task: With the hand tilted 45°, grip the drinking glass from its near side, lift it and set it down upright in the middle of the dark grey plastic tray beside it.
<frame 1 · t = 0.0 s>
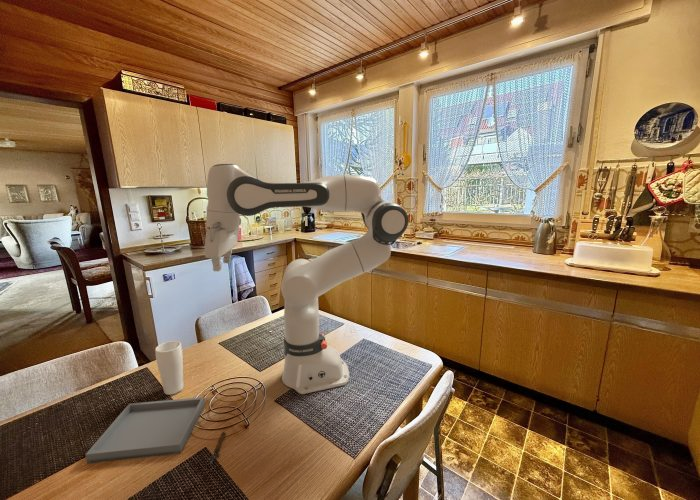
hand: (222, 266, 86), 39 cm above the table, tool pointing down, fingers open, 8 cm apart
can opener: (216, 451, 69), on the table
tray: (153, 430, 74), on the table
drinking glass: (174, 390, 89), on the table
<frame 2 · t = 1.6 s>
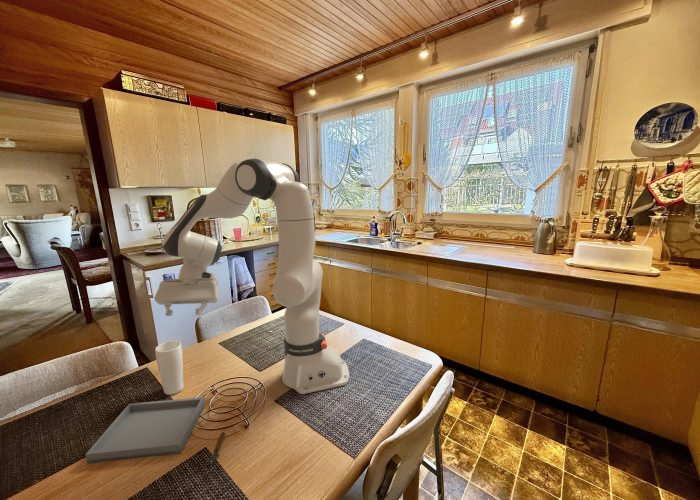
hand: (183, 314, 97), 20 cm above the table, tool tilted 45°, fingers open, 8 cm apart
nothing on the table moved.
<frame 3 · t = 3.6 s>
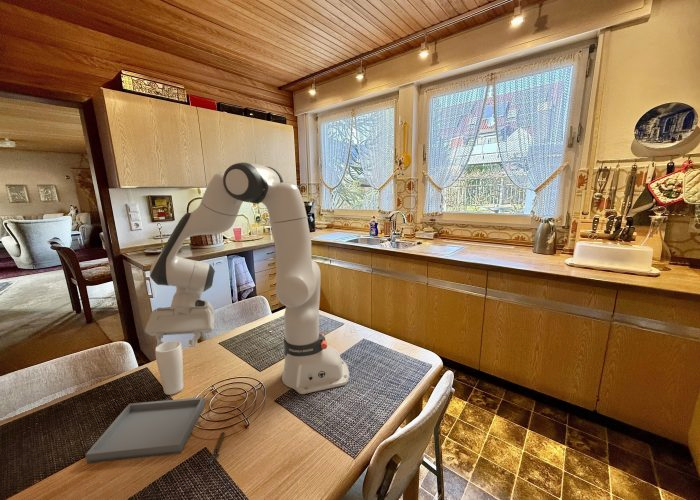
hand: (175, 347, 91), 12 cm above the table, tool tilted 45°, fingers open, 8 cm apart
nothing on the table moved.
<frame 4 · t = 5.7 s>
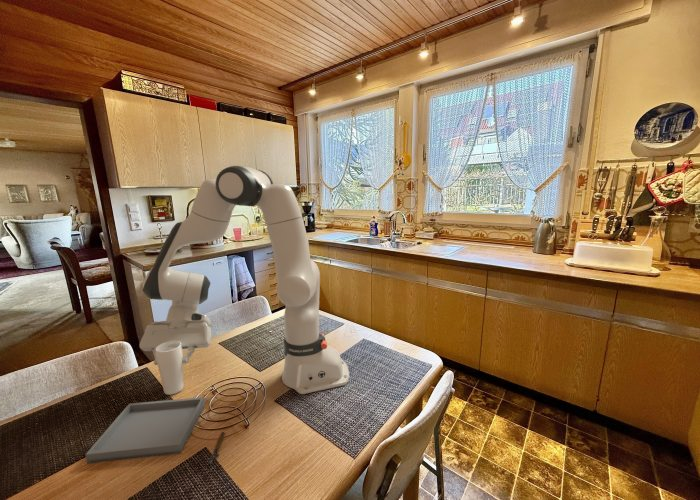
hand: (171, 363, 88), 9 cm above the table, tool tilted 45°, fingers closed on drinking glass, 6 cm apart
drinking glass: (174, 390, 89), on the table, touching gripper
everything else where it was.
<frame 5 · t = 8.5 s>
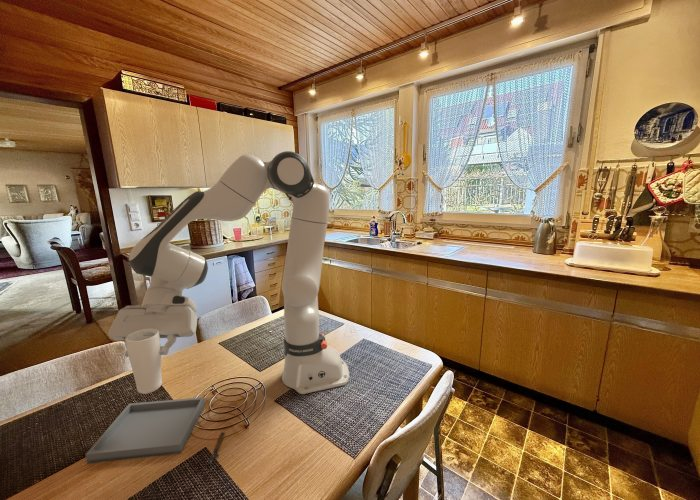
hand: (146, 355, 72), 20 cm above the table, tool tilted 45°, fingers closed on drinking glass, 6 cm apart
drinking glass: (150, 388, 73), point 11 cm above the table, touching gripper
everything else where it was.
when the fingers open (11 cm above the table, at t = 11.3 s): drinking glass drops 1 cm, resting on tray.
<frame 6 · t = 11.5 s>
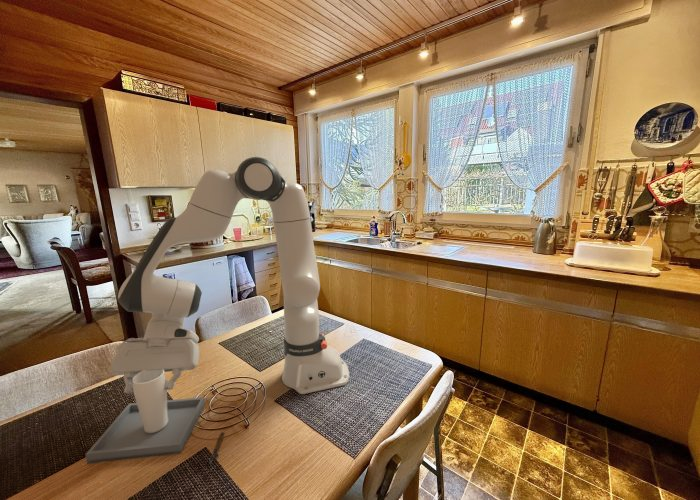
hand: (148, 390, 72), 11 cm above the table, tool tilted 45°, fingers open, 8 cm apart
drinking glass: (156, 426, 74), point 1 cm above the table, touching gripper, tray
everything else where it was.
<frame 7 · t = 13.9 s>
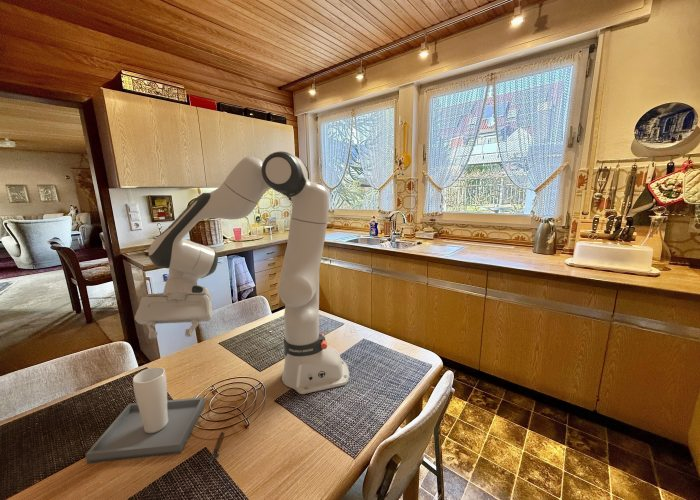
hand: (170, 337, 82), 20 cm above the table, tool tilted 45°, fingers open, 8 cm apart
drinking glass: (156, 426, 74), point 1 cm above the table, touching tray
everything else where it was.
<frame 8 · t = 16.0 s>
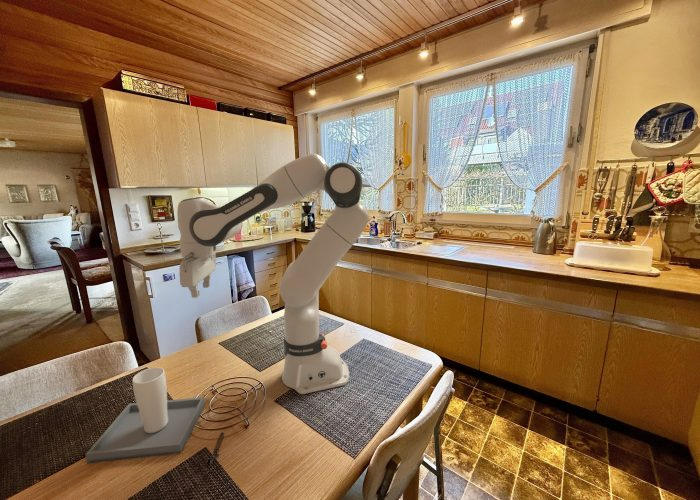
hand: (201, 291, 92), 29 cm above the table, tool pointing down, fingers open, 8 cm apart
nothing on the table moved.
at the end: drinking glass inside the target area on the tray (0.8 cm from its centre), point 0.6 cm above the tray's base; drinking glass tilted 0°; the gripper is holding nothing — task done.
